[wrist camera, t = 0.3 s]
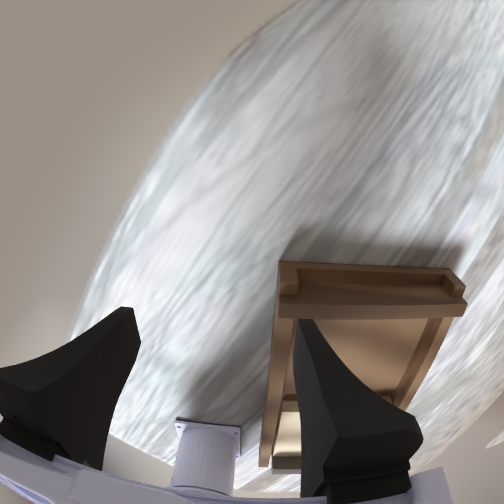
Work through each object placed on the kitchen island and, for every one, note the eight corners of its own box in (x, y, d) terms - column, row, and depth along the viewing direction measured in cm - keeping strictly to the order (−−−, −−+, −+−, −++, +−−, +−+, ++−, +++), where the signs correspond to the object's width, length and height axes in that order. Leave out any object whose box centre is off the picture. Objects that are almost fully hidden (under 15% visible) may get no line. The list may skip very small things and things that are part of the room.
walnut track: (366, 444, 34) (370, 466, 30) (259, 448, 34) (258, 473, 31) (449, 268, 22) (472, 292, 18) (278, 261, 22) (280, 289, 19)
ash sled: (358, 448, 33) (362, 468, 29) (271, 452, 33) (271, 474, 30) (389, 395, 27) (397, 420, 24) (281, 400, 28) (282, 427, 25)
